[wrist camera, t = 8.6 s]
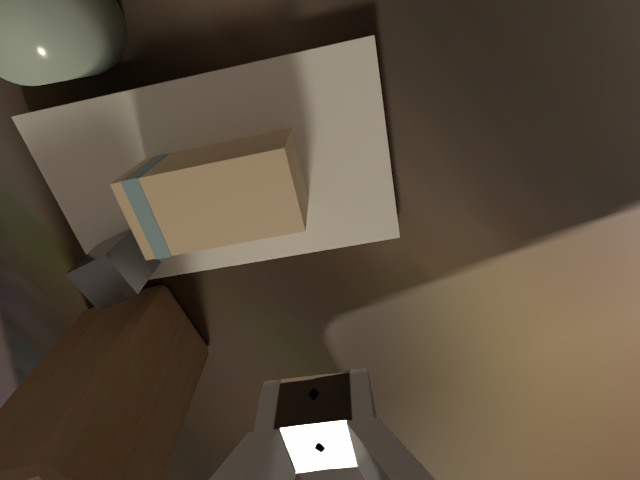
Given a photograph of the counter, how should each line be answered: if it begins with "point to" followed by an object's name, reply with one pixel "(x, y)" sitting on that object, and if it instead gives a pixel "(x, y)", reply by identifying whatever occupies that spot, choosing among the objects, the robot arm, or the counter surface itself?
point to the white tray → (226, 125)
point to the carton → (215, 195)
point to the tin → (112, 271)
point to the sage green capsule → (59, 39)
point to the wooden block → (106, 395)
